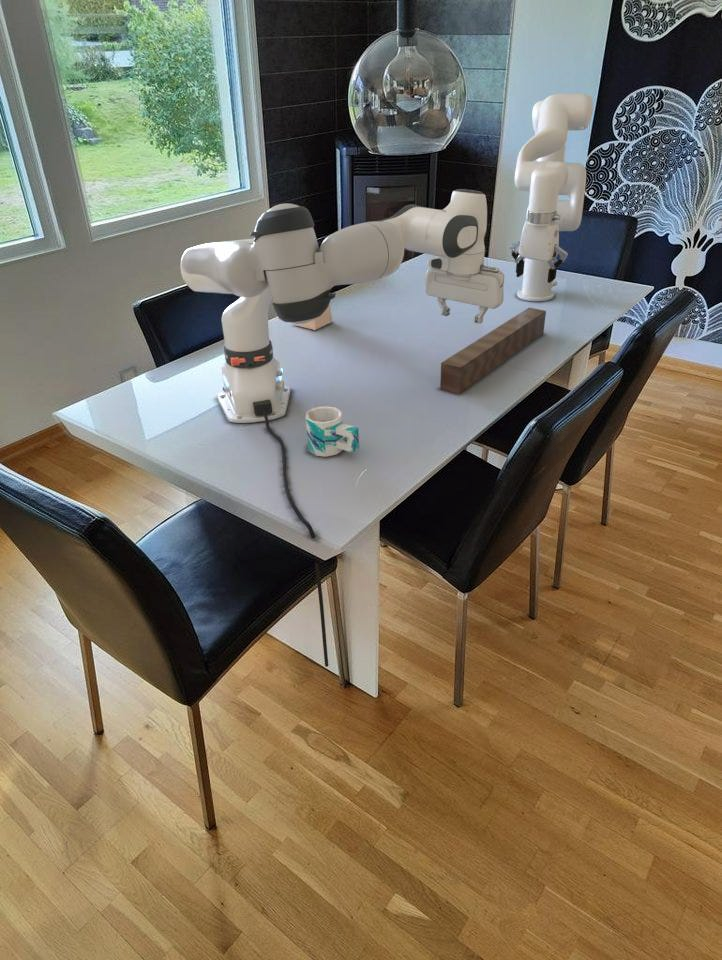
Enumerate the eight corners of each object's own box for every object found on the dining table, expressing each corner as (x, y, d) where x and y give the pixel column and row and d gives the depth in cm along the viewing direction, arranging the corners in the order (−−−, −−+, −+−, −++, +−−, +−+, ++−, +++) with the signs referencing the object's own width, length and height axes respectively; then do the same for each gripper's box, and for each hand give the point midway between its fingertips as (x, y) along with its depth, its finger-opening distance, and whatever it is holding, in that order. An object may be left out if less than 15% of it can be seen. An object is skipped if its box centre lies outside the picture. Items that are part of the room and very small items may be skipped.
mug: (322, 435, 155) (320, 402, 150) (366, 448, 149) (365, 414, 145) (301, 451, 149) (297, 417, 145) (345, 465, 144) (343, 430, 139)
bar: (458, 394, 171) (460, 367, 167) (440, 389, 174) (441, 362, 170) (543, 334, 204) (546, 310, 200) (526, 330, 207) (528, 307, 203)
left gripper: (511, 265, 155) (505, 323, 163) (435, 253, 166) (434, 307, 173) (498, 272, 151) (493, 331, 159) (422, 259, 162) (420, 314, 169)
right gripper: (577, 217, 182) (568, 279, 192) (519, 210, 191) (513, 269, 201) (565, 224, 177) (557, 287, 187) (506, 216, 186) (502, 277, 196)
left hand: (461, 318), depth 166 cm, fingers open, 8 cm apart
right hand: (535, 278), depth 194 cm, fingers open, 9 cm apart
